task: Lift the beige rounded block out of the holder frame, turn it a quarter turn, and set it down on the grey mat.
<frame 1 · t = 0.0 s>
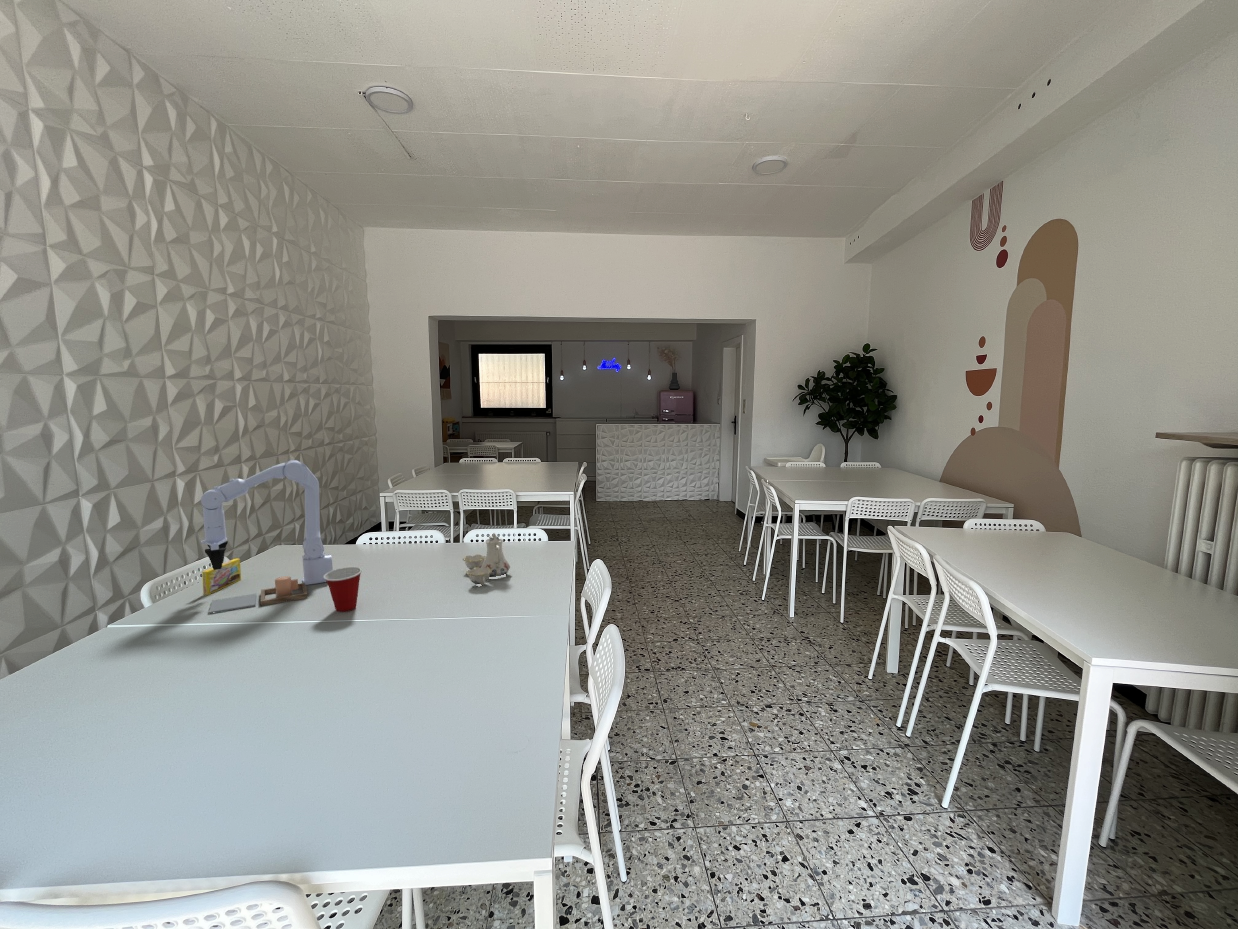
hand: (218, 566, 187), 10 cm above the table, tool pointing down, fingers open, 7 cm apart
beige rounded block: (284, 596, 188), resting in holder frame
grey mat: (233, 604, 180), on the table
candy box: (223, 588, 197), on the table
holder frame: (284, 595, 188), on the table
plastic cup: (345, 609, 176), on the table
chinaware: (487, 577, 207), on the table
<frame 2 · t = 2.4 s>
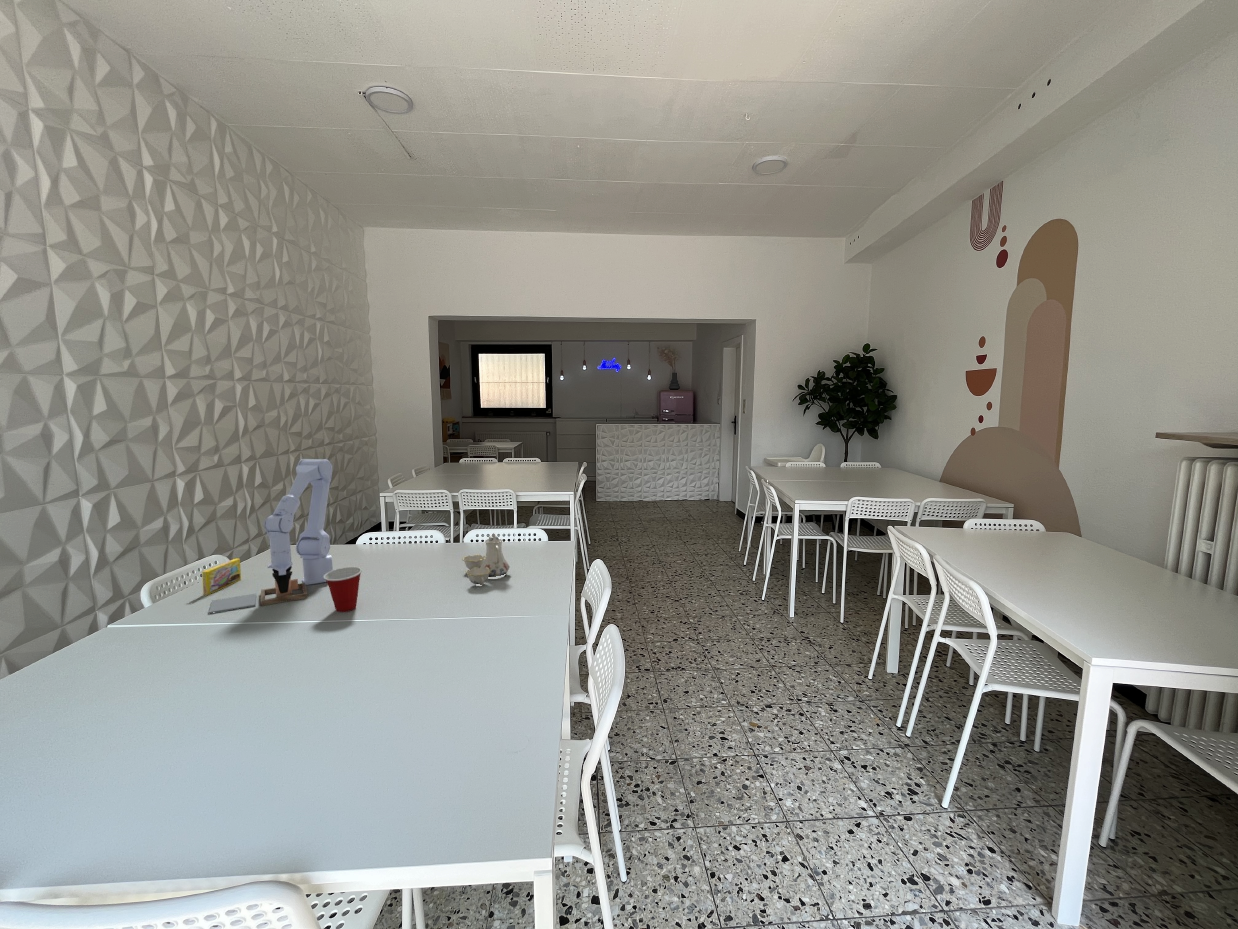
hand: (283, 590, 188), 2 cm above the table, tool pointing down, fingers closed on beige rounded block, 5 cm apart
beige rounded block: (284, 596, 188), resting in holder frame, touching gripper
everything else where it was.
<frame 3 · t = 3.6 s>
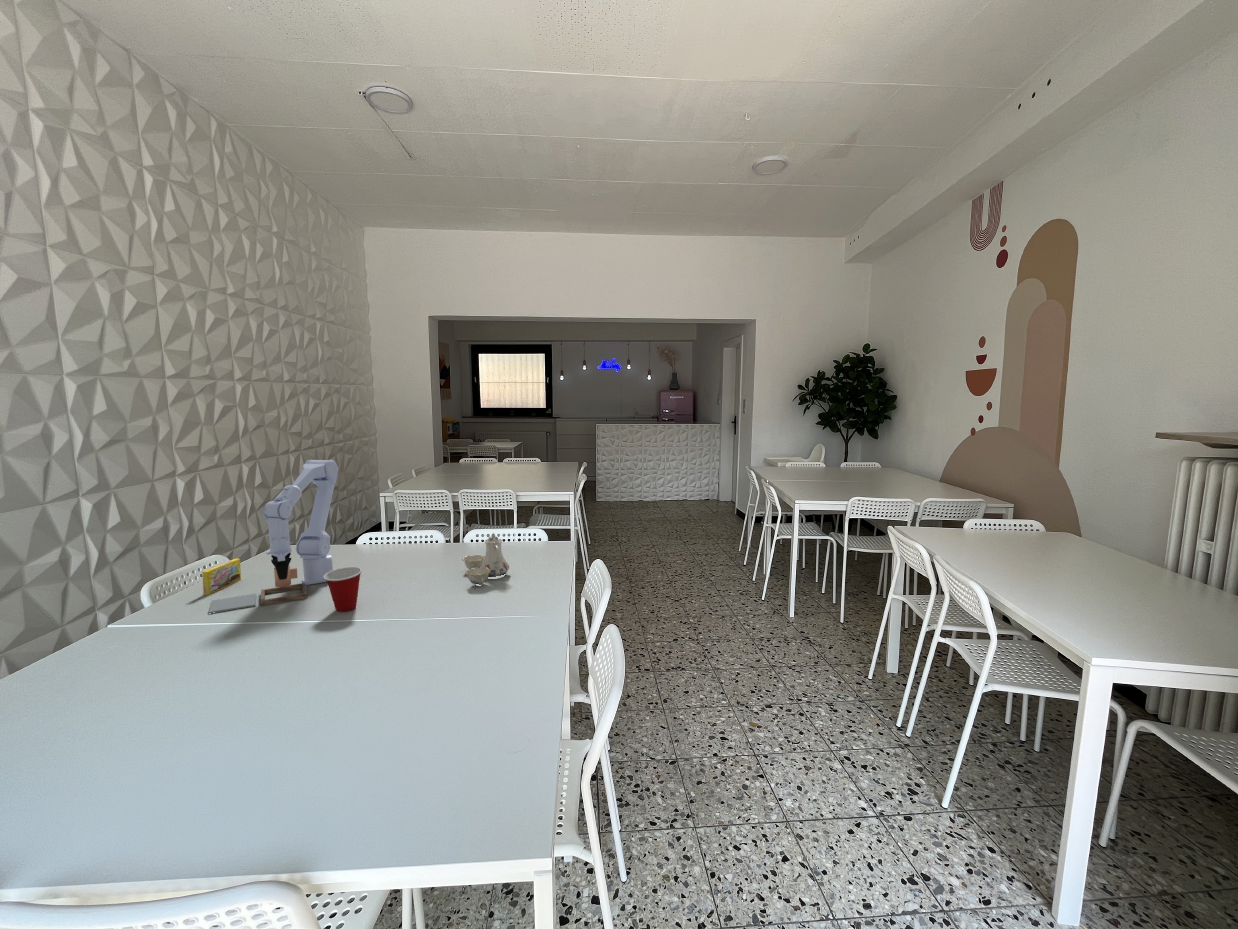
hand: (282, 577, 187), 7 cm above the table, tool pointing down, fingers closed on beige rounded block, 5 cm apart
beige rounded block: (283, 584, 187), point 4 cm above the table, touching gripper
everything else where it was.
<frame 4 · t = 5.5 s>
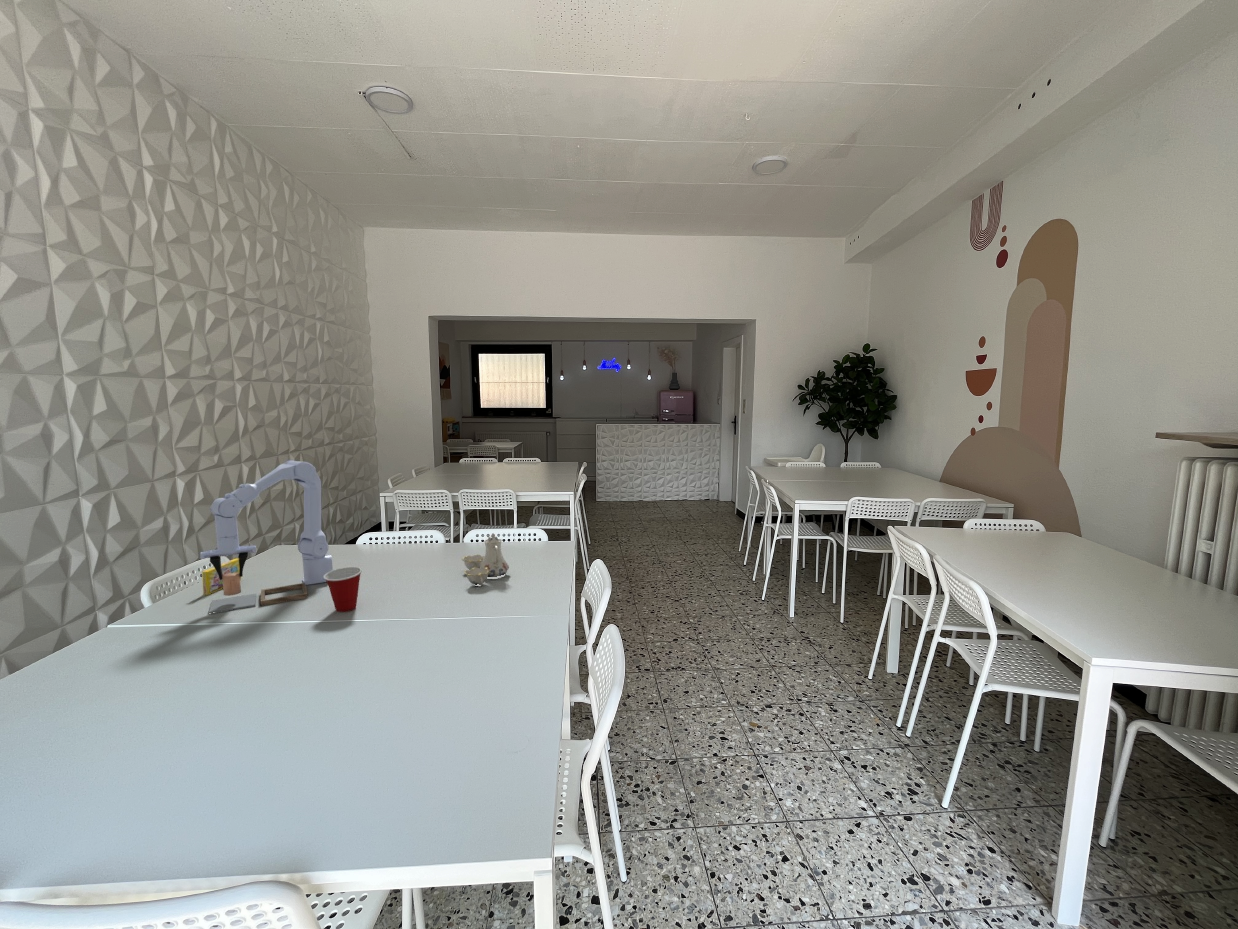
hand: (231, 577, 179), 9 cm above the table, tool pointing down, fingers closed on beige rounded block, 5 cm apart
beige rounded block: (232, 593, 180), point 4 cm above the table, touching gripper
everything else where it was.
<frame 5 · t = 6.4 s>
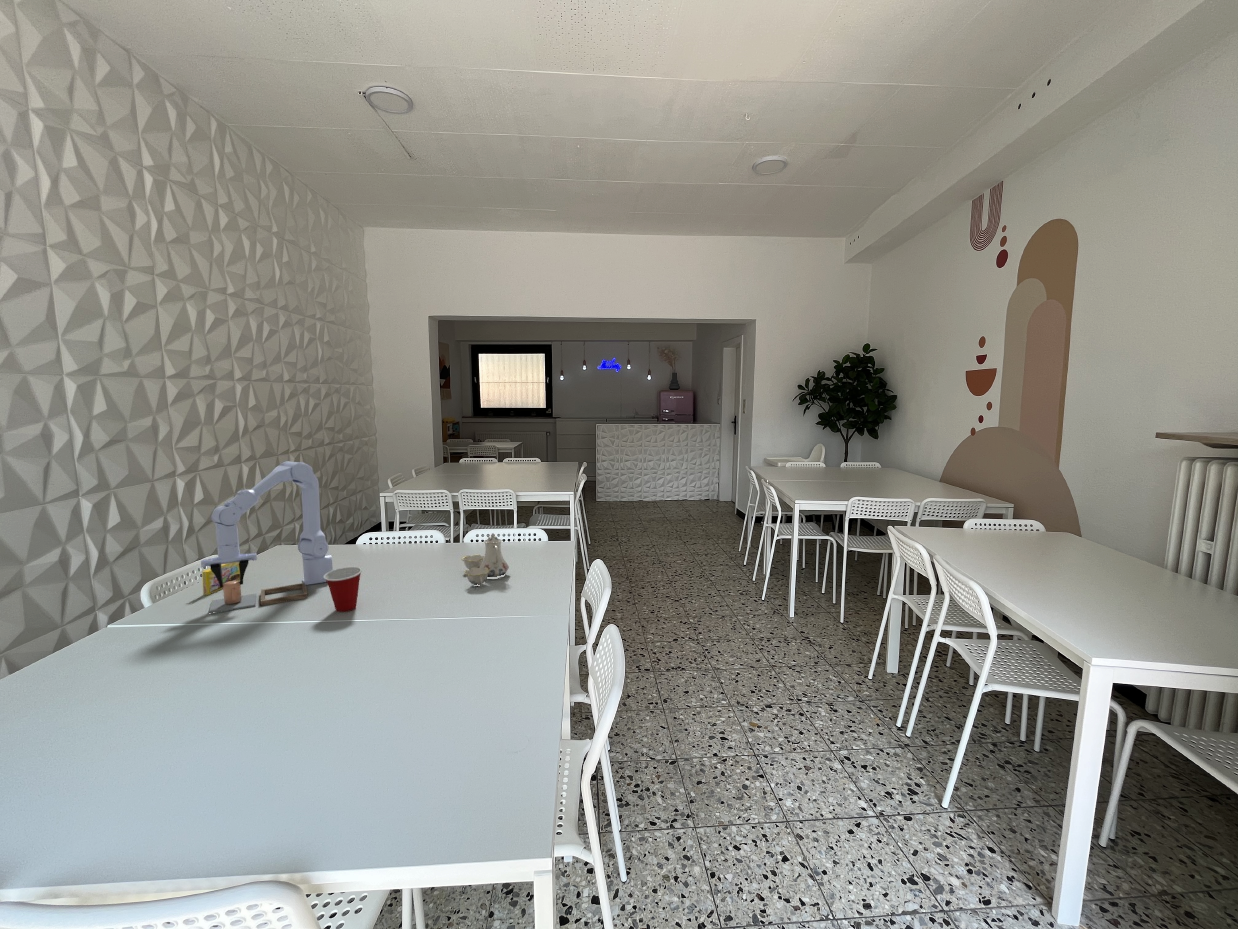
hand: (231, 585, 180), 6 cm above the table, tool pointing down, fingers closed on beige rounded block, 5 cm apart
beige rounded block: (233, 601, 180), point 1 cm above the table, touching gripper
everything else where it was.
when the fingers open (4 cm above the table, at t = 7.5 s): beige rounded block stays where it is, resting on grey mat.
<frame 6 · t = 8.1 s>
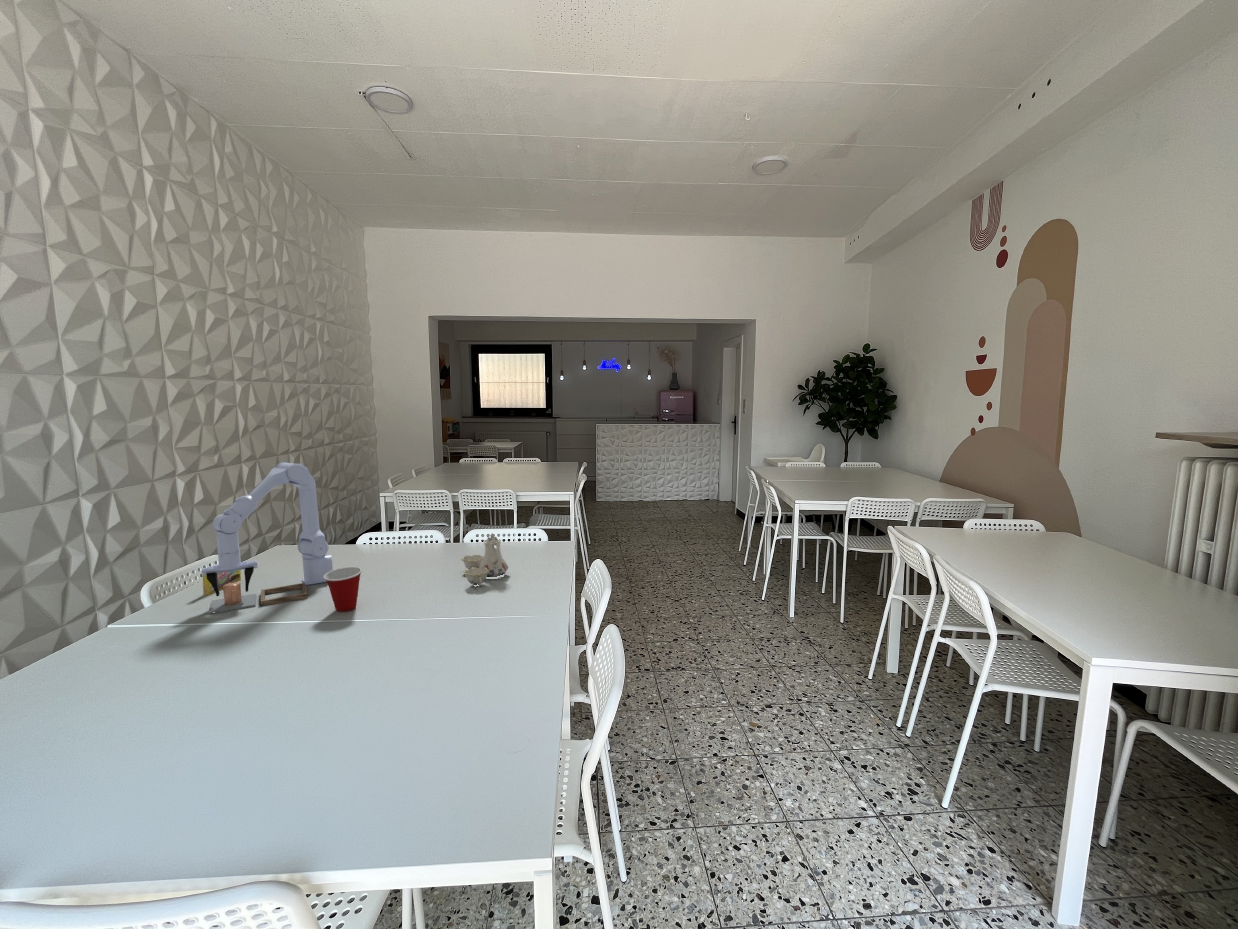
hand: (232, 593, 180), 4 cm above the table, tool pointing down, fingers open, 7 cm apart
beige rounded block: (233, 602, 180), point 1 cm above the table, touching grey mat
everything else where it was.
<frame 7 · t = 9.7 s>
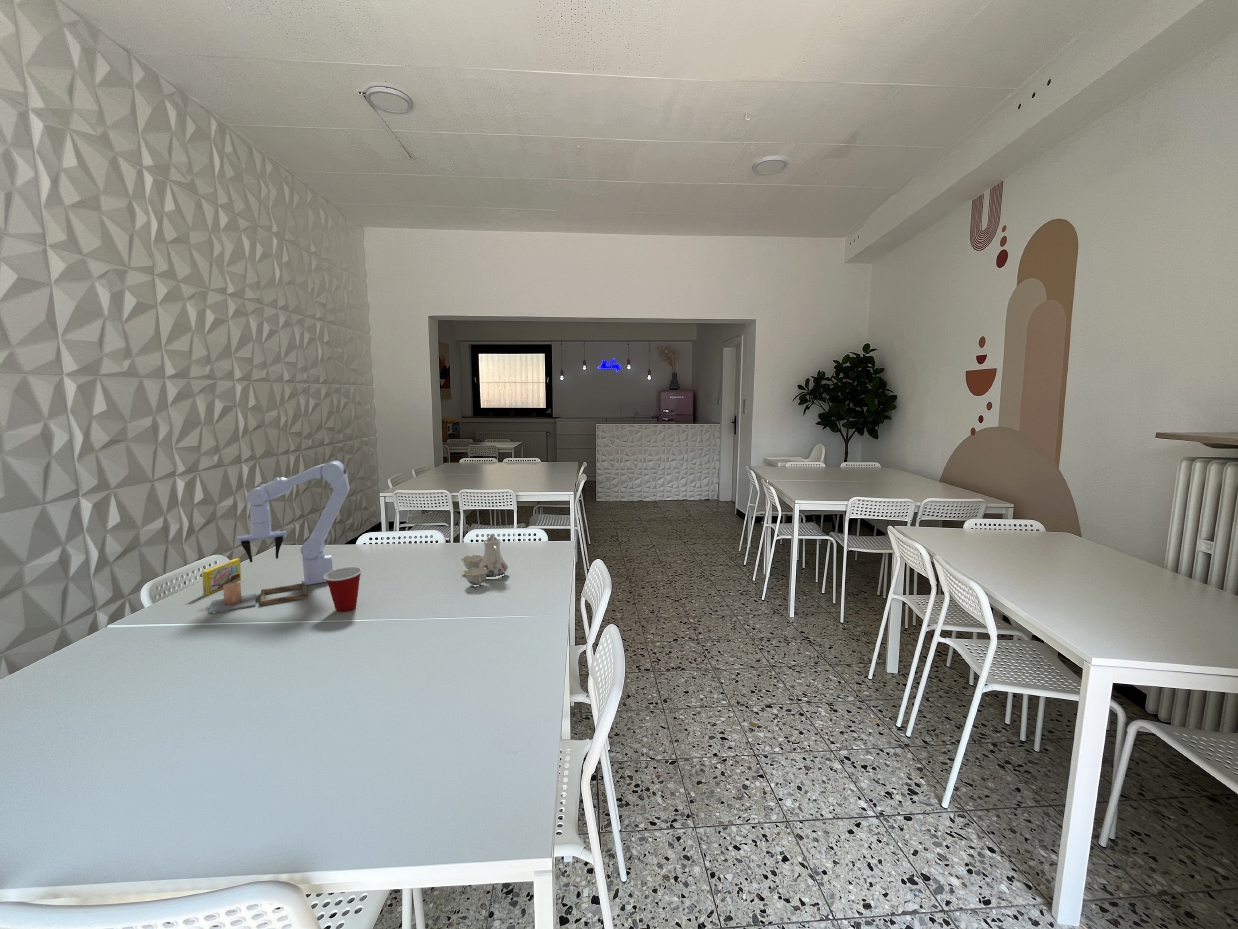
hand: (264, 559, 197), 9 cm above the table, tool pointing down, fingers open, 7 cm apart
nothing on the table moved.
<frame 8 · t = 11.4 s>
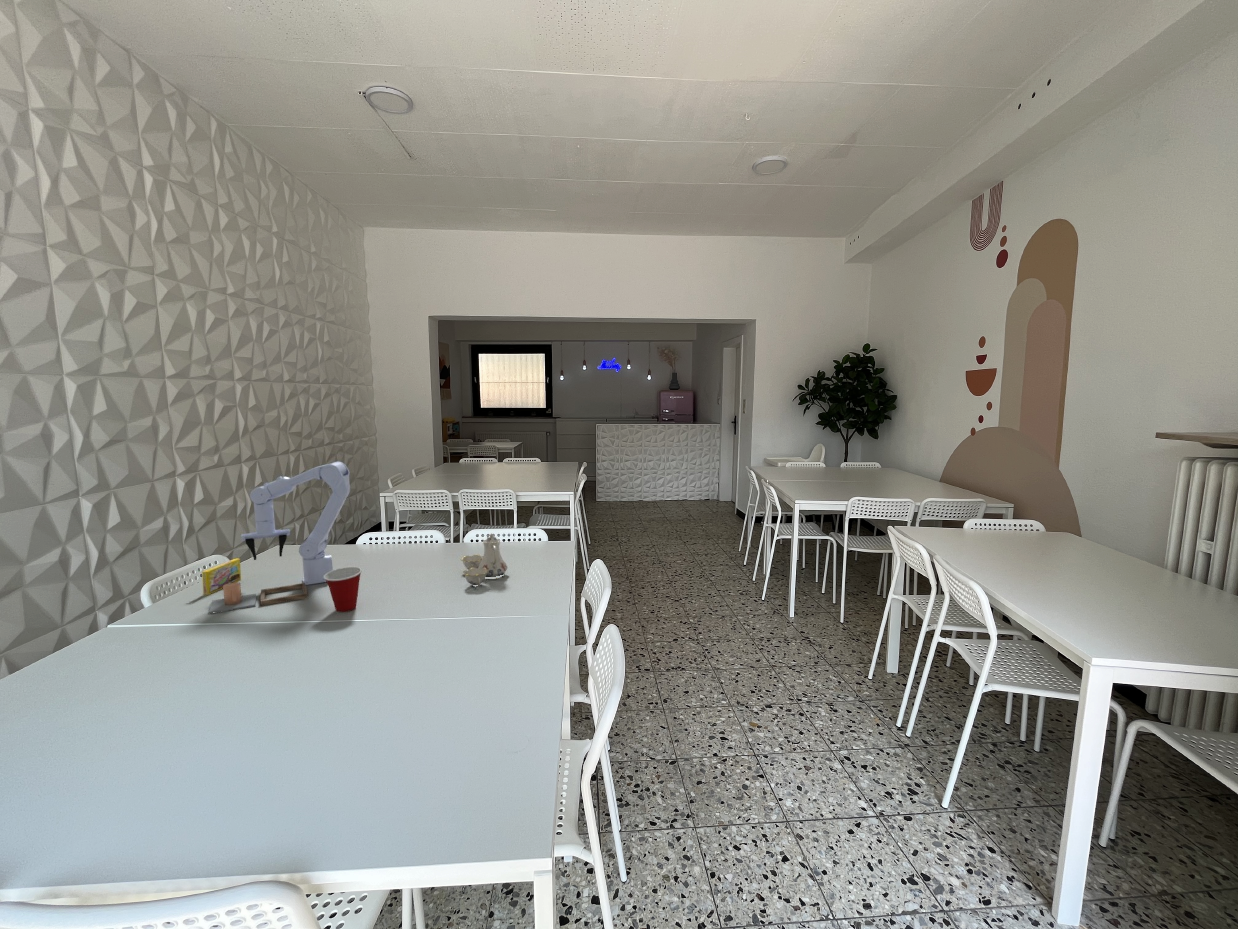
hand: (268, 557, 200), 9 cm above the table, tool pointing down, fingers open, 7 cm apart
nothing on the table moved.
at the end: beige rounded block 0.4 cm off-centre on the grey mat, point 0.6 cm above the grey mat's base; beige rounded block tilted 0°; the gripper is holding nothing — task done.
